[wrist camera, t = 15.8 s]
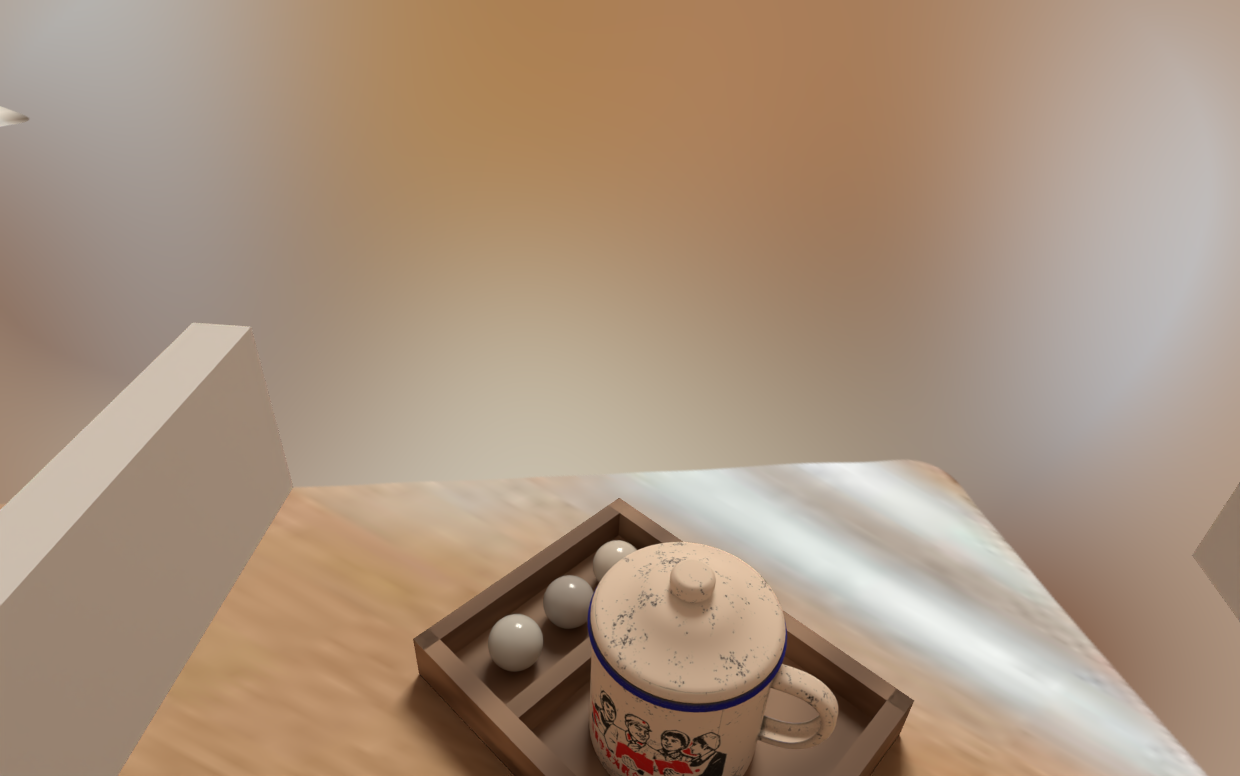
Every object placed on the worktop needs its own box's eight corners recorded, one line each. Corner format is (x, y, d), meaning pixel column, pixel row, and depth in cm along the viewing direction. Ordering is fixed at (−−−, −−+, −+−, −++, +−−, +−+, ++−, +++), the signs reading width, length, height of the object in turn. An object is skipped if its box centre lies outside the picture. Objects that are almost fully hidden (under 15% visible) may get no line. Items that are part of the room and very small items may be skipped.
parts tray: (419, 673, 44) (413, 639, 42) (617, 530, 54) (619, 497, 52) (715, 989, 32) (723, 959, 31) (899, 733, 42) (914, 700, 40)
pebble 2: (532, 618, 46) (531, 583, 44) (570, 590, 48) (570, 556, 46) (568, 649, 44) (568, 614, 43) (605, 619, 46) (606, 584, 45)
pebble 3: (582, 581, 48) (582, 547, 47) (615, 556, 50) (617, 522, 49) (617, 609, 47) (618, 575, 45) (650, 582, 49) (653, 548, 47)
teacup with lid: (554, 770, 39) (552, 615, 32) (623, 631, 46) (634, 479, 39) (796, 874, 35) (850, 725, 28) (830, 706, 42) (881, 554, 35)
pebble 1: (478, 659, 44) (474, 624, 42) (519, 628, 45) (518, 593, 44) (513, 693, 42) (510, 658, 40) (554, 659, 44) (554, 625, 42)
